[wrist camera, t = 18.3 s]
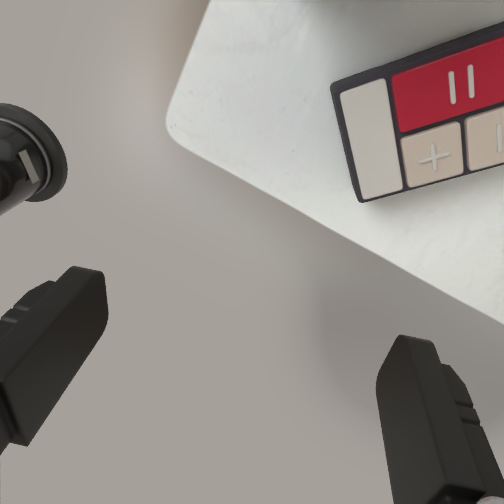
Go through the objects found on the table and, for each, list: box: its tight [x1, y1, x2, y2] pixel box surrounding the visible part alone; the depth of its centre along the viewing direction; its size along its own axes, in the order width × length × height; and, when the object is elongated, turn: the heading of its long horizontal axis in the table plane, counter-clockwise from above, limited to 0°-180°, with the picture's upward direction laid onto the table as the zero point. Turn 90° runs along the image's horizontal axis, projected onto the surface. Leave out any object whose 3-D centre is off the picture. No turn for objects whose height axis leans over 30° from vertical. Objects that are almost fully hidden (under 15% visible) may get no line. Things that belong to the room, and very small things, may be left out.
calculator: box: [330, 22, 504, 203], centre depth 32 cm, size 11×4×15 cm
